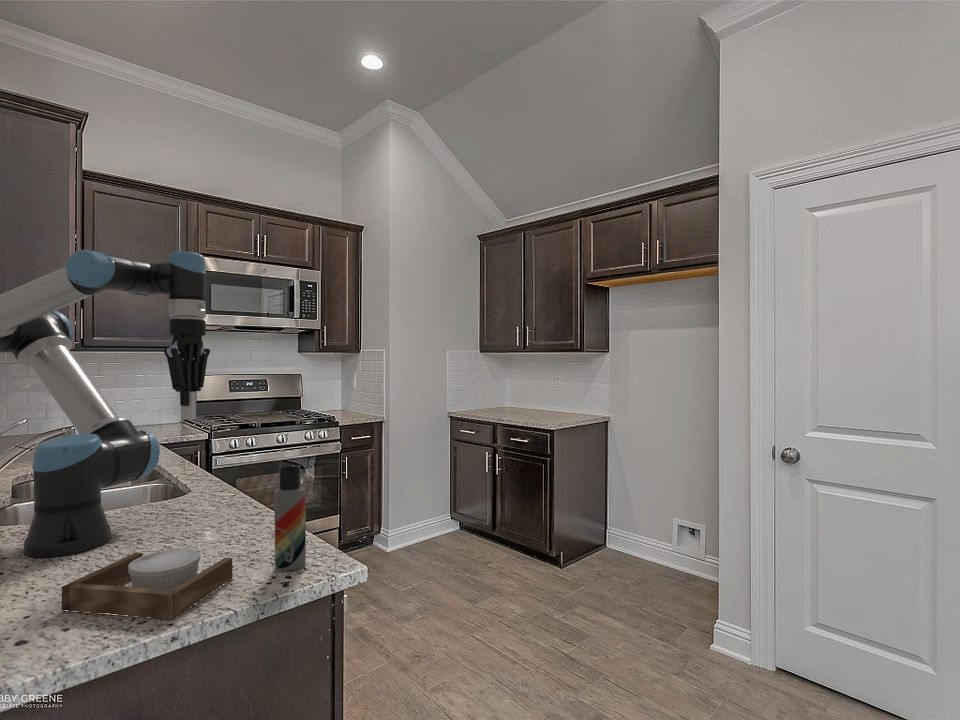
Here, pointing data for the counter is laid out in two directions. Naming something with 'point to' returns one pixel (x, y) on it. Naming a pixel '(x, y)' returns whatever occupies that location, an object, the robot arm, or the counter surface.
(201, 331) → the robot arm
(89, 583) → the walnut box
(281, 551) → the lotion bottle
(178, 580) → the ramekin
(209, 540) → the counter surface
